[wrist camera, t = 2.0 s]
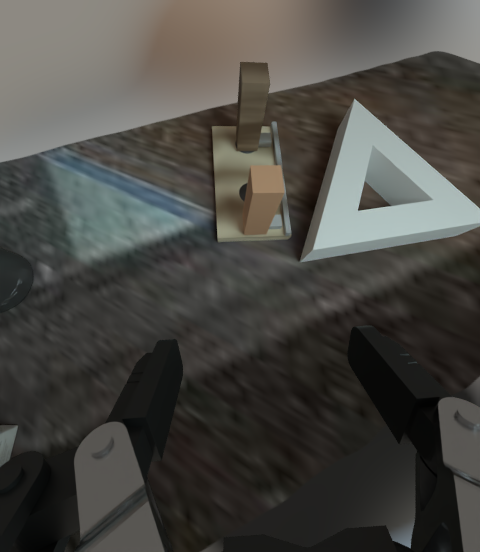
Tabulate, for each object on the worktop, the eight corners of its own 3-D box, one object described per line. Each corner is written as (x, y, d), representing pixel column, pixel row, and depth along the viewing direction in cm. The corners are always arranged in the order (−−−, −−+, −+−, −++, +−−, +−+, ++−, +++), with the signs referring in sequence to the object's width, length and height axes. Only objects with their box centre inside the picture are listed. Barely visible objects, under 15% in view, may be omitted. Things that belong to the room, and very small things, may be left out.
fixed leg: (270, 150, 39) (288, 84, 29) (237, 150, 39) (242, 82, 28) (268, 134, 40) (284, 63, 30) (235, 134, 40) (240, 62, 29)
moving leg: (281, 233, 36) (305, 192, 25) (244, 235, 35) (253, 193, 24) (278, 213, 36) (301, 165, 26) (242, 214, 36) (250, 165, 25)
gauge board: (288, 239, 37) (293, 232, 35) (217, 241, 36) (217, 235, 34) (274, 133, 43) (277, 121, 40) (212, 133, 42) (211, 121, 39)
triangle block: (336, 130, 45) (354, 98, 39) (459, 172, 44) (496, 147, 38) (298, 263, 37) (312, 250, 31) (445, 314, 37) (489, 311, 31)
